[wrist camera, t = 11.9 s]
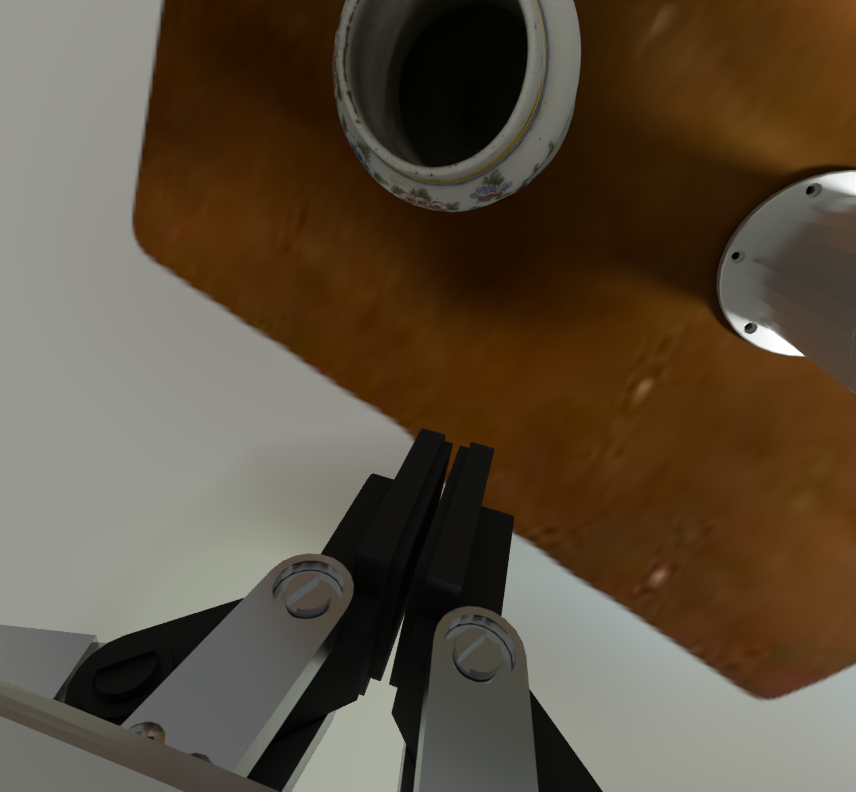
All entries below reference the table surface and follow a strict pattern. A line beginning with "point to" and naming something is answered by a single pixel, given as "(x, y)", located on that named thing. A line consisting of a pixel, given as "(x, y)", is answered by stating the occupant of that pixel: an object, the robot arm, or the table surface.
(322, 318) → the table surface
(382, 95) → the apothecary jar
